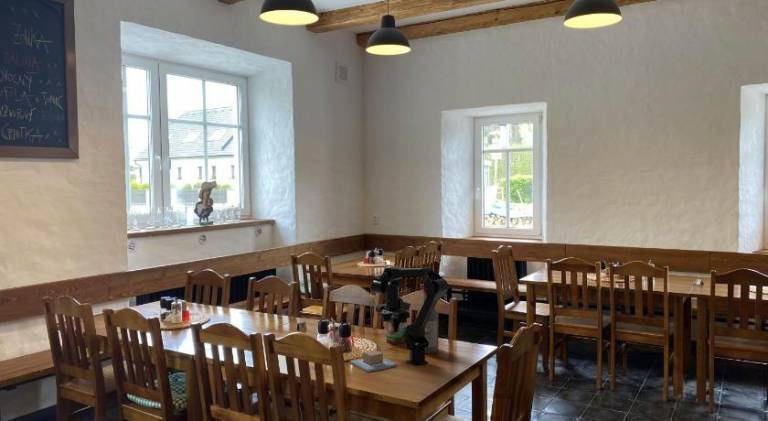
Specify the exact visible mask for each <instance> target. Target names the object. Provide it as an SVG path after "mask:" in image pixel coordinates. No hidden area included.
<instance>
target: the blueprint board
mask: <svg viewBox="0 0 768 421" xmlns="http://www.w3.org/2000/svg"><path fill="white" fill-rule="evenodd" d="M349 364H351V365H353V366H355V367H356V368H359V369H360V370H362V371H364V372H366V373H369V372H370V373H371V372H376V371H380V370H384V369H389V368H393V367H394V368H395V367H397V363H396V362H393V361H391V360H390V359H388V358H386V357H384V353H382V352H381V351H378V350H377V349H372V350H368V351H363V352H362V358H358V359H357V358H356V359H351V360H349Z"/></svg>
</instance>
